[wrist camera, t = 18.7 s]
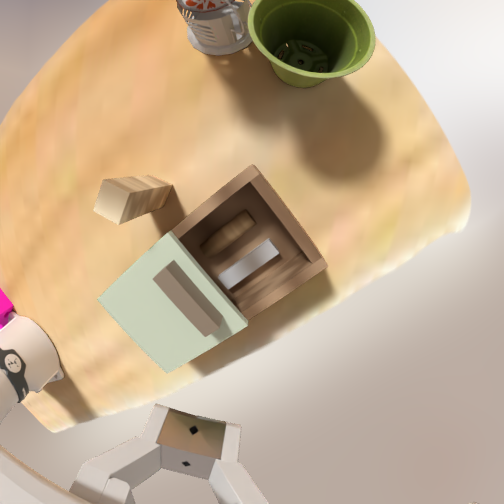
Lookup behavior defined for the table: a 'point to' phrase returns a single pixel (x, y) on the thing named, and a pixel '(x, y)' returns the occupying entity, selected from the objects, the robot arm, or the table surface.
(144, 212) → the wooden block
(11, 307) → the toy block
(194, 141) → the table surface
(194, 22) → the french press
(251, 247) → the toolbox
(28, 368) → the robot arm
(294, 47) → the plant pot
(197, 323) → the lid
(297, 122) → the table surface
